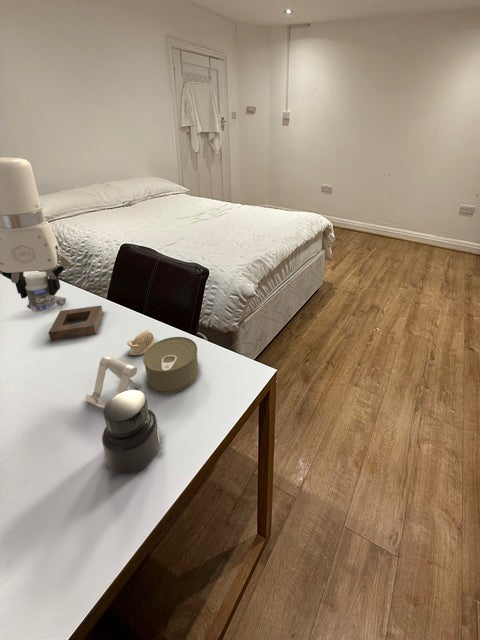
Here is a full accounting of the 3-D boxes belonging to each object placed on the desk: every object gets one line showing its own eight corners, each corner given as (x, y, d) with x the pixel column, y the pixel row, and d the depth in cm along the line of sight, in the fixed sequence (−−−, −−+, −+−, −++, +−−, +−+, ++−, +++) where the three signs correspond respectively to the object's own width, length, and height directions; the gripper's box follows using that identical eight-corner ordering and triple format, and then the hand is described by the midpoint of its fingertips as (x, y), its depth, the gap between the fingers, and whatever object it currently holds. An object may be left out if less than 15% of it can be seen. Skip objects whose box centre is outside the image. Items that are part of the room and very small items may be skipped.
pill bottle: (40, 315, 72) (31, 282, 69) (26, 309, 74) (17, 277, 71) (61, 304, 76) (54, 273, 73) (48, 299, 78) (40, 269, 75)
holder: (50, 341, 88) (48, 332, 87) (62, 319, 97) (60, 310, 96) (96, 334, 92) (94, 325, 90) (103, 313, 101) (101, 305, 100)
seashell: (68, 306, 106) (30, 316, 100) (65, 290, 106) (26, 300, 101) (66, 303, 101) (26, 314, 96) (63, 287, 102) (22, 297, 96)
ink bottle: (171, 437, 64) (165, 391, 60) (141, 482, 56) (131, 433, 52) (129, 425, 66) (120, 380, 62) (94, 467, 58) (81, 419, 54)
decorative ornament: (159, 343, 89) (157, 327, 87) (134, 362, 82) (131, 345, 80) (148, 339, 91) (146, 323, 89) (123, 357, 84) (119, 341, 82)
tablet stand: (86, 403, 70) (79, 373, 67) (117, 378, 77) (112, 350, 74) (115, 417, 67) (109, 387, 64) (145, 390, 74) (140, 361, 71)
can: (201, 356, 85) (200, 335, 83) (195, 392, 74) (193, 369, 72) (154, 359, 83) (151, 338, 81) (140, 397, 72) (136, 373, 70)
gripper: (-43, 226, 61) (-15, 307, 68) (63, 222, 67) (79, 297, 73) (-21, 214, 68) (3, 290, 74) (73, 212, 73) (87, 282, 80)
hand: (40, 293), depth 74 cm, fingers closed on pill bottle, 4 cm apart
